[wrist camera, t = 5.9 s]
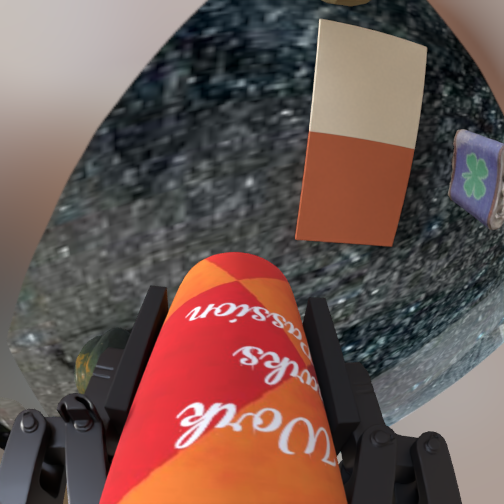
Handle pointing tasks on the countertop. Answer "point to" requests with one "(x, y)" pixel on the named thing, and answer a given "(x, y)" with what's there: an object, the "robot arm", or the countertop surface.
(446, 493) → the robot arm
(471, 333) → the countertop surface
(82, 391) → the squash
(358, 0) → the squeeze bottle
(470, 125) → the countertop surface
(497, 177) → the flask
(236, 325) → the paper cup
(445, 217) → the countertop surface
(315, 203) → the board
